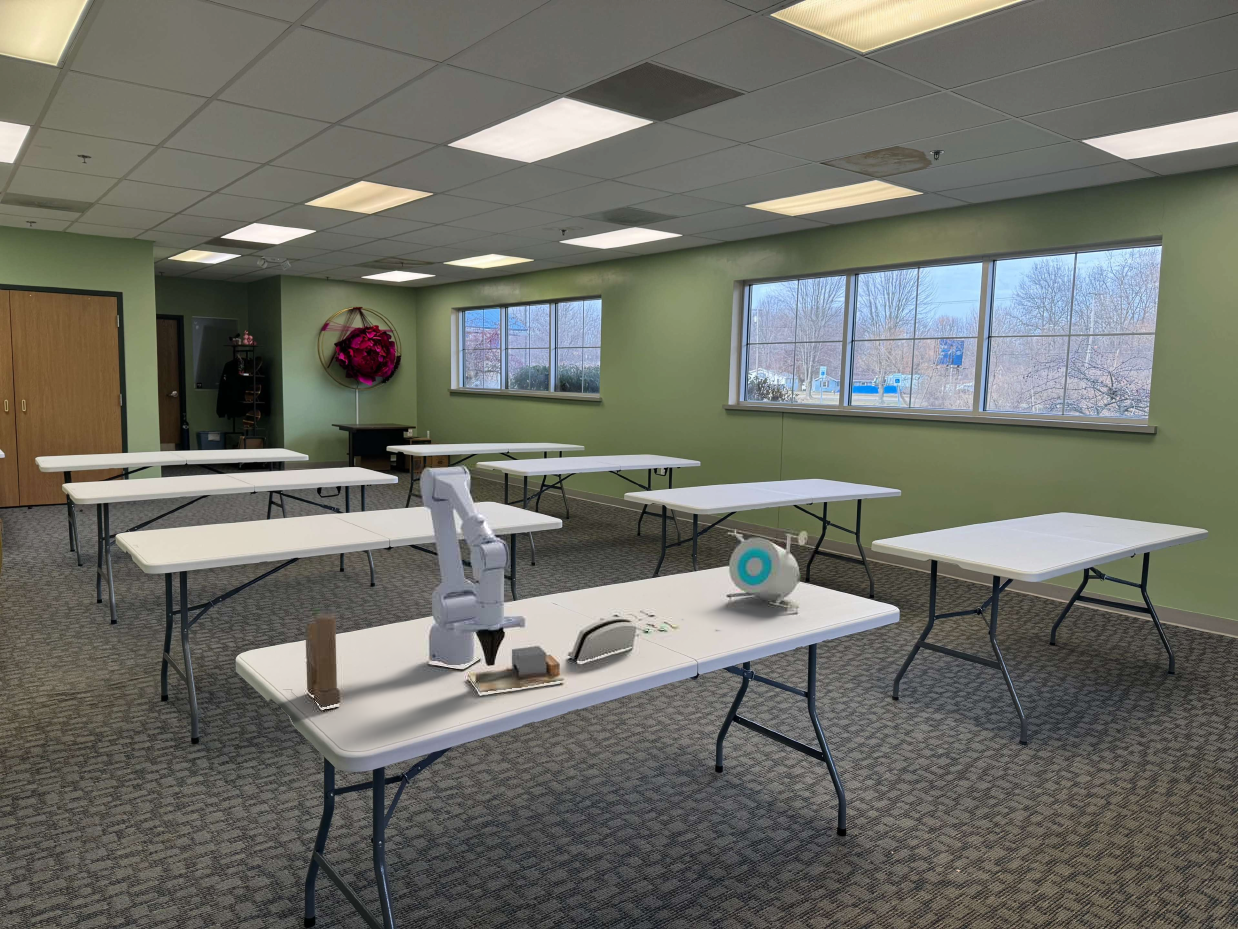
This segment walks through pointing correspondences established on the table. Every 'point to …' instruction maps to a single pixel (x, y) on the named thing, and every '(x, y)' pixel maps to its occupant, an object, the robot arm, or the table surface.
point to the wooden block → (322, 660)
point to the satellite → (765, 569)
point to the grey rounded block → (603, 638)
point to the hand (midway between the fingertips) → (489, 664)
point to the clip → (529, 662)
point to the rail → (514, 677)
